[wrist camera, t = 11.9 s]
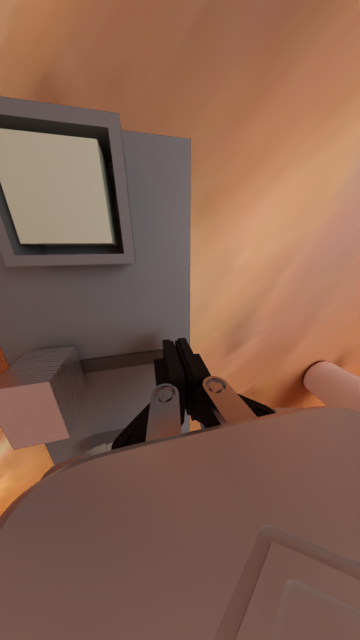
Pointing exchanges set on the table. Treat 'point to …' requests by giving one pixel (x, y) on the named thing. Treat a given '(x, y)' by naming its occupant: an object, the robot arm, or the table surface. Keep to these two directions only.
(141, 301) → the panel
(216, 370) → the table surface
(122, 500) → the robot arm
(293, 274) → the table surface
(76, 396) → the block
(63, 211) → the button sage
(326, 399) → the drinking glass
